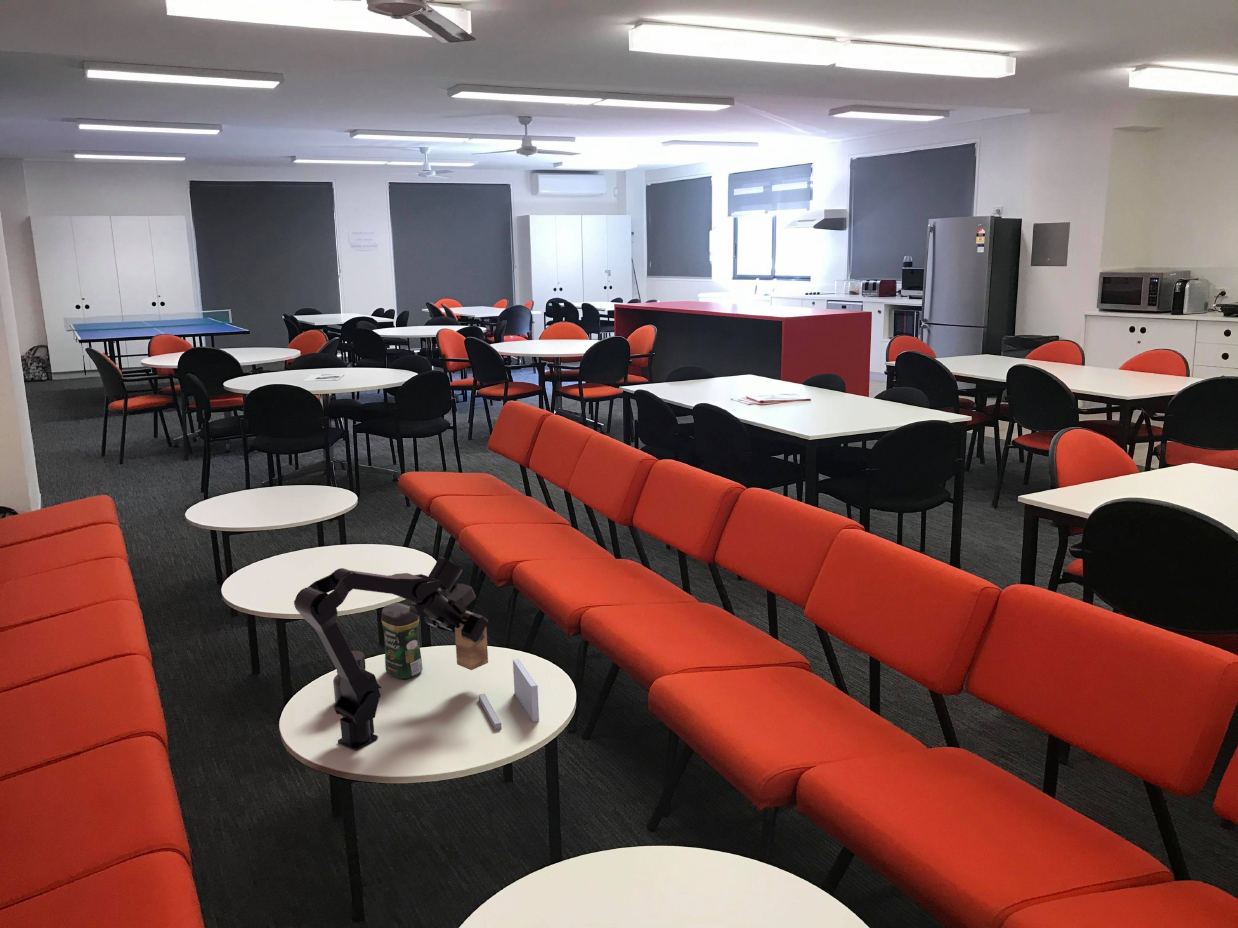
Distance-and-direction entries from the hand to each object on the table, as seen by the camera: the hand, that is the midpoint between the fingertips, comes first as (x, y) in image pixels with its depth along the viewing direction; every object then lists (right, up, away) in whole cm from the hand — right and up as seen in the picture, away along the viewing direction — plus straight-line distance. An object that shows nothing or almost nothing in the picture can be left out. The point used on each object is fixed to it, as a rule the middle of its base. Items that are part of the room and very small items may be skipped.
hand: (475, 635), depth 234 cm
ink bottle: (-29, -16, -4) cm, 33 cm away
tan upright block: (-1, -7, +1) cm, 7 cm away
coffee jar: (-20, -12, +11) cm, 26 cm away
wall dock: (+10, -16, -10) cm, 21 cm away
